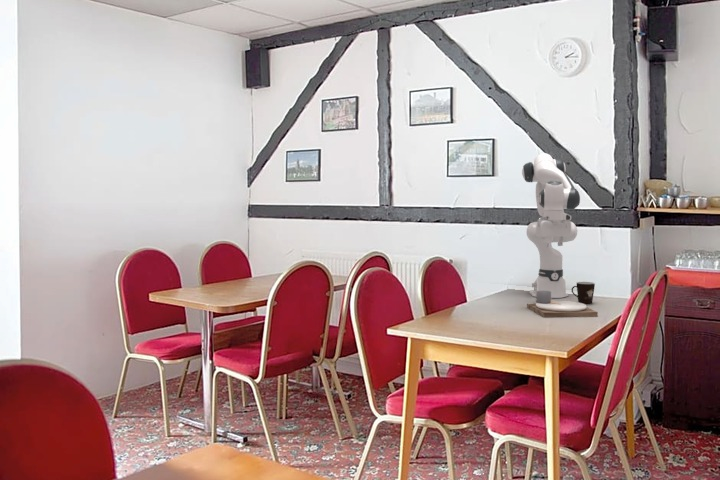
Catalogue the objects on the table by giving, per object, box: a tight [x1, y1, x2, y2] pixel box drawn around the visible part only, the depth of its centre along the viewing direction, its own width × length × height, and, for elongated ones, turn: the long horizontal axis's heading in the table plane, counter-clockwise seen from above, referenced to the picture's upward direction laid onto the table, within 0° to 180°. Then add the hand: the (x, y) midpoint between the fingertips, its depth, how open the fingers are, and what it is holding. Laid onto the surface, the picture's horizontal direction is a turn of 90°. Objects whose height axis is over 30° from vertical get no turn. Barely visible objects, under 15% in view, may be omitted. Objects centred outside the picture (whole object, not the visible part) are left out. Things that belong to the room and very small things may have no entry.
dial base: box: [526, 302, 599, 318], centre depth 320 cm, size 24×24×2 cm
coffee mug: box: [571, 281, 596, 305], centre depth 344 cm, size 12×9×10 cm
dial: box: [535, 291, 588, 311], centre depth 320 cm, size 23×22×6 cm
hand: (553, 246), depth 327 cm, fingers open, 8 cm apart
